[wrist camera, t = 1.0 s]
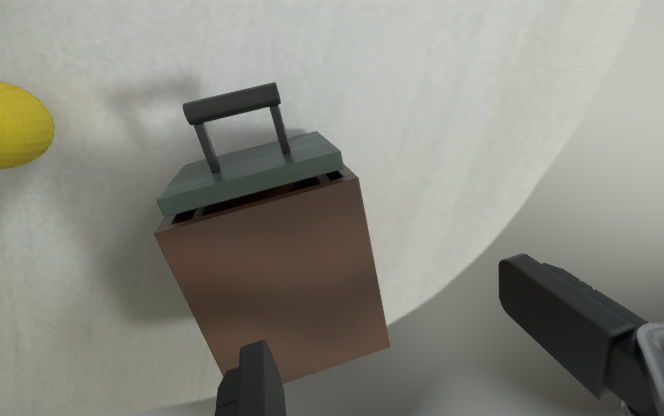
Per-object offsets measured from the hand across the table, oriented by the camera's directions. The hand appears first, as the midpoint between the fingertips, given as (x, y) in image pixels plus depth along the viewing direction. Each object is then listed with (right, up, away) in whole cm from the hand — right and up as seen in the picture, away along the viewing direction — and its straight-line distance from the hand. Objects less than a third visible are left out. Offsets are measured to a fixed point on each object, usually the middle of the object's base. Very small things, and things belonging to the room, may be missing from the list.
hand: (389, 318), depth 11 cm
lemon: (-24, +10, +14) cm, 30 cm away
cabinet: (-7, +1, +22) cm, 23 cm away
